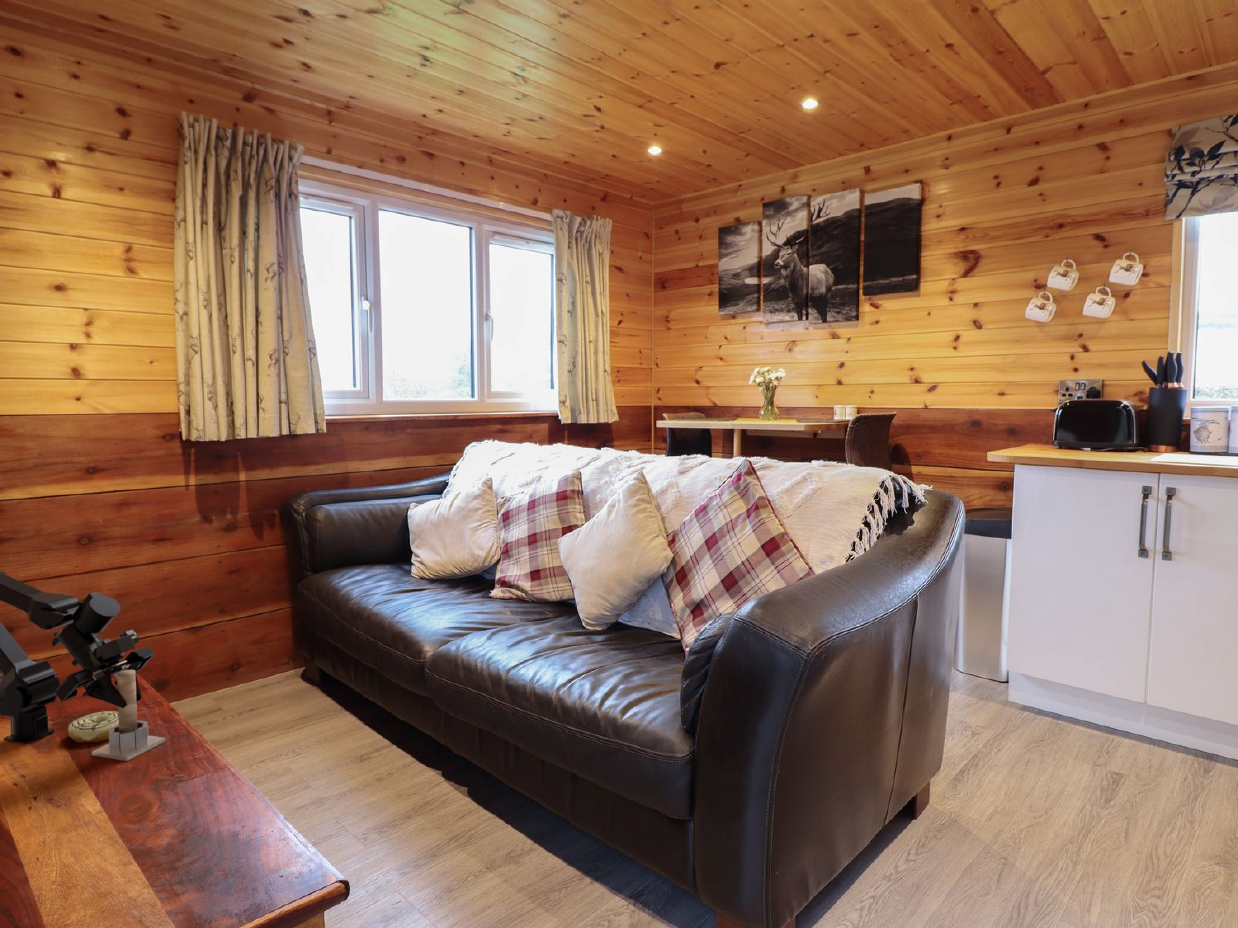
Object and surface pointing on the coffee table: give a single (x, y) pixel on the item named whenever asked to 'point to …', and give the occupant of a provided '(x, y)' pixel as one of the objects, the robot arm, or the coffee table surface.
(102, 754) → the cup bracket
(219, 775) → the coffee table surface
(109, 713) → the decorated donut
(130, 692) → the wooden post
